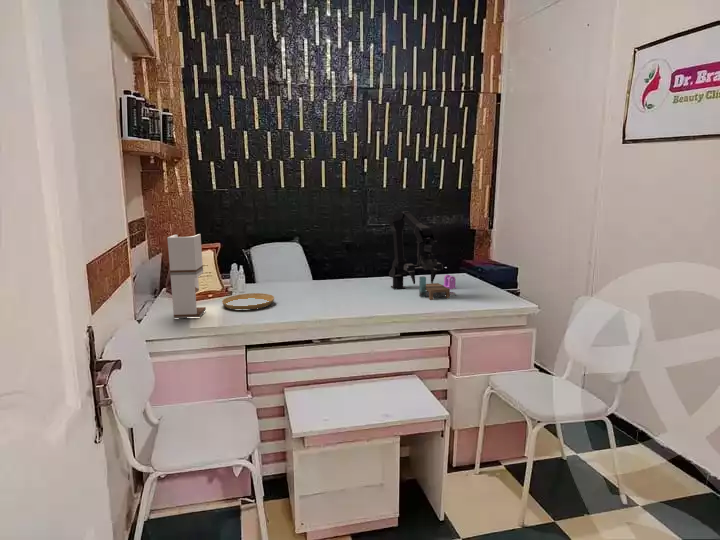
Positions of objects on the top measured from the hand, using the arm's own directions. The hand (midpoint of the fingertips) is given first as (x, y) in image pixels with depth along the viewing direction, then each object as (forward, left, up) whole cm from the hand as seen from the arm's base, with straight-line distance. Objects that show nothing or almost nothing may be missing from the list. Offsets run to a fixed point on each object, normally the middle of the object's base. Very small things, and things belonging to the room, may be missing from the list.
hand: (423, 283), depth 241 cm
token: (0, +15, -7) cm, 16 cm away
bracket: (-14, +16, -7) cm, 23 cm away
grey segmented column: (+7, -110, -7) cm, 110 cm away
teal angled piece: (0, +5, -6) cm, 8 cm away
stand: (0, +6, -6) cm, 9 cm away
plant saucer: (-5, -85, -7) cm, 85 cm away
